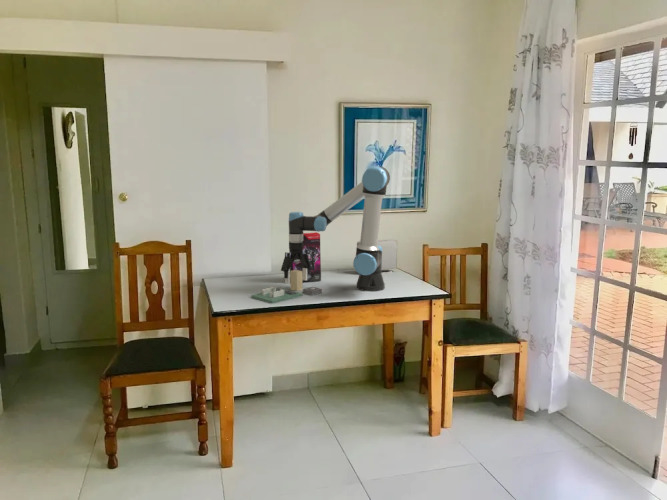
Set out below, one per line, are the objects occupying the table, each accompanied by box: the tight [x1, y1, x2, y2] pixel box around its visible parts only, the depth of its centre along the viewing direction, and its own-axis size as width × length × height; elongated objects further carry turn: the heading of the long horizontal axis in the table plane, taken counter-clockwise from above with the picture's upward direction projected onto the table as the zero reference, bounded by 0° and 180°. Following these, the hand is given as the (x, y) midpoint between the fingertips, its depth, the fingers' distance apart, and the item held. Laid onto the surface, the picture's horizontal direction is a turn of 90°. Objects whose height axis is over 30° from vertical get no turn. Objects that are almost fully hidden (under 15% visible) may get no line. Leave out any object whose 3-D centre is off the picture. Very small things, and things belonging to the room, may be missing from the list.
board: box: [250, 286, 303, 304], centre depth 267 cm, size 16×20×4 cm
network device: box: [356, 238, 398, 275], centre depth 323 cm, size 26×9×20 cm, turn 114°
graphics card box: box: [288, 231, 322, 283], centre depth 300 cm, size 17×7×27 cm, turn 111°
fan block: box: [302, 286, 323, 296], centre depth 275 cm, size 7×7×2 cm
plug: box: [289, 270, 303, 292], centre depth 282 cm, size 6×4×10 cm
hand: (296, 282), depth 282 cm, fingers open, 12 cm apart
